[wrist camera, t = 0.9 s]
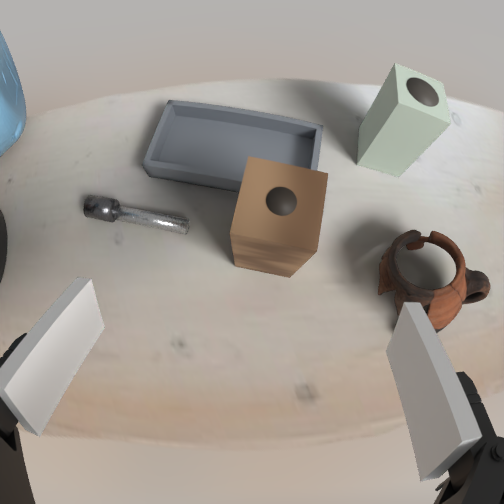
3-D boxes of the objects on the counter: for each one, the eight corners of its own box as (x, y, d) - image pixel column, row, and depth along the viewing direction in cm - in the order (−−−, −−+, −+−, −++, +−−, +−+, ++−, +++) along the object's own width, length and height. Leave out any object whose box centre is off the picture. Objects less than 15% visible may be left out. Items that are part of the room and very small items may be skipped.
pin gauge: (90, 219, 29) (81, 212, 27) (97, 199, 30) (88, 191, 27) (185, 240, 29) (181, 233, 27) (191, 217, 29) (187, 209, 27)
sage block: (356, 165, 31) (398, 102, 20) (359, 128, 32) (394, 62, 21) (398, 177, 31) (451, 123, 20) (398, 140, 32) (443, 82, 21)
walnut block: (235, 266, 28) (229, 232, 18) (246, 214, 30) (248, 155, 19) (289, 277, 28) (317, 251, 18) (299, 225, 29) (328, 173, 19)
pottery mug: (374, 353, 28) (387, 314, 21) (365, 273, 33) (370, 221, 27) (481, 339, 25) (515, 297, 19) (460, 265, 31) (481, 215, 25)
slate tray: (149, 176, 30) (142, 164, 28) (173, 114, 32) (168, 99, 29) (307, 207, 30) (313, 196, 27) (317, 139, 32) (323, 125, 29)
